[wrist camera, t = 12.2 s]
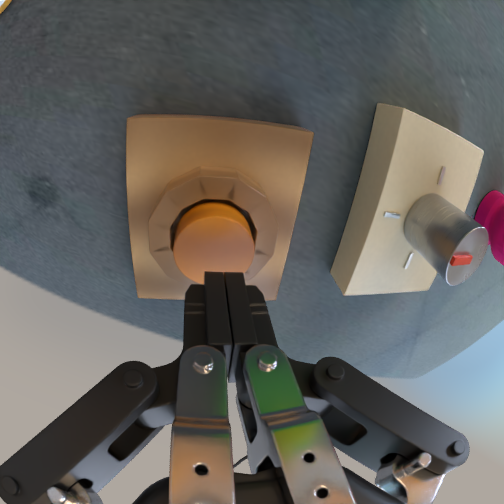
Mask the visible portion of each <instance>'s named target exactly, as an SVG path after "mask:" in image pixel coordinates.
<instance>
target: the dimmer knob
mask: <svg viewBox="0 0 504 504" xmlns="http://www.w3.org/2000/svg"><path fill="white" fill-rule="evenodd" d="M404 234H405V238H406V240H407V242H408V243H409V244H410V245H411V246H412V247H413V248H414V249H415V250H416V251H417V252H418V253H419V254H420V255H421V256H422V257H423V258H424V259H425V260H426V261H427V262H428V263H429V264H430V265H431V266H432V267H433V268H434V269H435V270H436V271H437V272H438V273H439V274H440V276H441V277H442V278H443V279H444V280H445V281H446V282H447V283H448V284H449V285H458V284H460V283H462V282H464V281H465V280H466V279H468V278H469V277H470V276H471V275H472V274H473V273H474V272H475V270H476V269H477V268H478V266H479V265H480V263H481V261H482V260H483V258H484V255H485V253H486V250H487V247H488V240H489V237H488V232H487V230H486V229H485V228H484V227H483V226H482V225H480V224H479V223H478V222H476V221H475V220H474V219H472V218H471V217H470V216H468V215H467V214H466V213H464V212H463V211H462V210H460V209H459V208H457V207H456V206H454V205H453V204H452V203H450V202H449V201H447V200H446V199H444V198H443V197H441V196H440V195H438V194H435V193H430V194H426V195H424V196H422V197H421V198H420V199H418V200H417V201H416V202H415V203H414V205H413V206H412V207H411V209H410V211H409V213H408V215H407V217H406V220H405V225H404Z"/></svg>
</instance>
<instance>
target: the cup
mask: <svg viewBox="0 0 504 504" xmlns="http://www.w3.org/2000/svg"><path fill="white" fill-rule="evenodd" d="M11 1H12V0H0V14H1V13H2V12H3V11H4V10H5V9H6V7H7V6H8V5H9V3H10V2H11Z"/></svg>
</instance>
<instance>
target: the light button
mask: <svg viewBox="0 0 504 504" xmlns="http://www.w3.org/2000/svg"><path fill="white" fill-rule="evenodd" d="M254 255H255V245H254V240H253V237H252V234H251V231H250V228H249V225H248V222H247V220H246V218H245V217H244V216H243V214H242V213H241V212H240V211H238V210H237V209H236V208H234V207H232V206H230V205H228V204H224V203H219V202H208V203H203V204H200V205H197V206H195V207H193V208H191V209H190V210H189V211H187V212H186V213H185V214H184V215H183V217H182V218H181V219H180V221H179V223H178V225H177V229H176V234H175V240H174V246H173V257H174V261H175V263H176V265H177V267H178V269H179V270H180V271H181V272H182V273H183V274H184V275H185V276H186V277H187V278H189V279H190V280H192V281H194V282H197V283H200V284H204V272H205V271H208V272H223V274H224V272H243V274H244V273H245V272H246V271H247V270H248V268H249V267H250V265H251V264H252V261H253V259H254Z"/></svg>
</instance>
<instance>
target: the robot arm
mask: <svg viewBox="0 0 504 504" xmlns="http://www.w3.org/2000/svg"><path fill="white" fill-rule="evenodd" d="M227 377H228V382H229V383H230V382H236V387H237V395H236V403H237V407H238V412H239V416H240V420H241V424H242V428H243V432H244V435H245V440H246V443H247V456H245V457H243V458H242V459H240V460H239V461H238V462H237V463H236V464H234V465H233V455H232V437H231V427H230V423H229V419H228V395H227ZM172 423H173V424H172ZM168 424H172V432H171V448H170V449H171V450H170V471H169V473H170V474H169V477H166V478H163V479H161V480H159V481H157V482H155V483H154V484H152V485H150V486H149V487H148V488H147V489H146V490H144V491H143V492H142V494H141V495H140V496H139V497H138V498H137V499H136V500H135V501H134V502H133V504H432V503H433V501H434V499H435V497H436V495H437V493H438V491H439V488H440V486H441V483H442V481H443V479H444V476H445V474H446V473H447V472H449V471H451V470H453V469H454V468H456V467H458V466H460V465H462V464H463V463H464V462H465V461H466V460H467V458H468V456H469V443H468V440H467V439H466V437H465V436H464V435H463V434H461V433H459V432H458V431H456V430H454V429H452V428H451V427H449V426H447V425H446V424H444V423H442V422H441V421H439V420H437V419H435V418H434V417H432V416H430V415H429V414H427V413H425V412H423V411H422V410H420V409H419V408H417V407H415V406H414V405H412V404H411V403H409V402H407V401H406V400H404V399H403V398H401V397H399V396H398V395H396V394H394V393H393V392H391V391H390V390H388V389H387V388H385V387H383V386H382V385H380V384H379V383H377V382H376V381H374V380H373V379H371V378H369V377H368V376H366V375H365V374H363V373H362V372H360V371H359V370H357V369H356V368H354V367H353V366H351V365H350V364H348V363H347V362H345V361H343V360H342V359H339V358H336V357H325V358H322V359H321V360H319V361H318V362H317V363H316V365H315V364H310V363H304V362H299V361H295V360H293V359H290V358H289V357H287V355H286V354H285V353H284V352H283V351H282V350H281V349H279V347H278V345H277V342H276V338H275V334H274V331H273V327H272V324H271V320H270V316H269V314H268V309H267V306H266V302H265V298H264V295H263V293H262V292H261V291H260V290H259V289H258V287H257V286H256V285H246V284H245V279H244V275H243V272H224V274H223V272H208V271H205V272H204V284H191V285H190V286H189V288H188V289H187V291H186V292H185V306H184V340H183V350H182V353H181V354H180V356H179V357H178V358H177V359H176V360H175V361H173V362H172V363H169V364H167V365H164V366H160V367H156V368H151V367H150V366H148V365H146V364H145V363H142V362H139V361H129V362H125V363H123V364H121V365H119V366H118V367H116V368H115V369H114V370H113V371H112V372H111V373H110V374H108V375H107V376H106V377H105V378H104V379H102V380H101V381H100V382H99V383H98V384H96V385H95V386H94V387H93V388H92V389H91V390H89V391H88V392H87V393H86V394H85V395H83V396H82V397H81V398H80V399H79V400H78V401H76V402H75V403H74V404H73V405H72V406H71V407H69V408H68V409H67V410H66V411H65V412H63V413H62V414H61V415H60V416H59V417H57V418H56V419H55V420H54V421H53V422H52V423H50V424H49V425H48V426H47V427H46V428H45V429H43V430H42V431H41V432H40V433H39V434H37V435H36V436H35V437H34V438H33V439H32V440H30V441H29V442H28V443H27V444H26V445H25V446H23V447H22V448H21V449H20V450H19V451H17V452H16V453H15V454H14V455H13V456H11V457H10V458H9V459H8V460H7V461H6V462H4V463H3V464H2V465H1V466H0V497H1V498H2V499H3V501H4V502H6V503H7V504H103V502H102V500H101V498H100V497H99V496H98V494H97V493H98V492H99V491H100V490H101V489H102V488H103V487H104V486H105V485H106V484H107V483H109V482H110V481H111V479H113V478H114V477H115V476H116V475H117V474H118V473H119V472H120V471H121V470H122V469H123V468H124V467H125V466H126V465H127V464H128V463H129V462H130V461H131V460H132V459H133V458H134V457H135V456H136V455H137V454H138V453H139V452H140V451H141V450H142V449H143V448H144V447H145V446H146V445H147V444H148V443H149V442H150V441H151V440H152V439H153V438H154V437H155V436H156V435H157V434H158V432H159V431H160V430H161V429H162V428H163V427H164V426H165V425H168ZM334 447H336V448H337V449H339V450H340V451H342V452H344V453H345V454H347V455H348V456H350V457H351V458H353V459H355V460H356V461H358V462H360V463H361V464H363V465H365V466H366V467H368V468H370V469H371V470H373V471H375V472H377V476H376V478H375V484H376V485H377V486H379V487H381V488H382V489H383V490H384V491H383V490H381V489H380V488H378V487H376V486H375V485H373V484H371V483H370V482H368V481H366V480H365V479H363V478H362V477H360V476H359V475H357V474H355V473H354V472H352V471H351V470H349V469H347V468H345V467H343V466H341V464H340V461H339V459H338V456H337V454H336V451H335V449H334ZM247 458H248V462H249V466H250V470H251V473H252V474H243V473H235V472H234V471H233V468H234V467H236V466H237V465H239V464H240V463H241V462H242V461H244V460H245V459H247Z"/></svg>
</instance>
